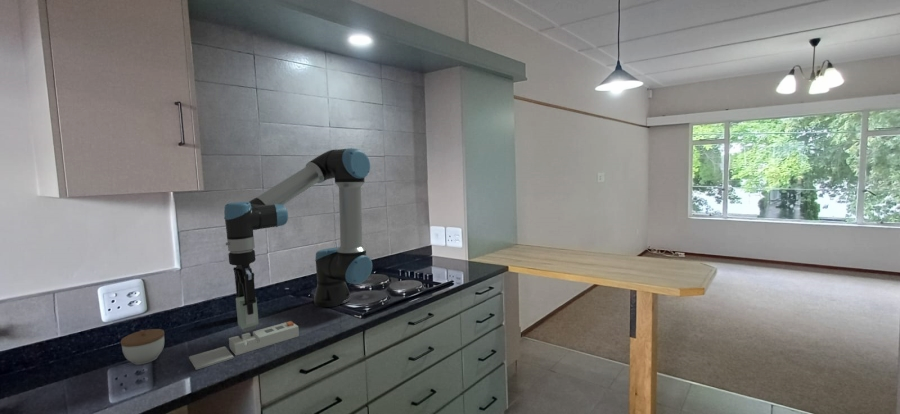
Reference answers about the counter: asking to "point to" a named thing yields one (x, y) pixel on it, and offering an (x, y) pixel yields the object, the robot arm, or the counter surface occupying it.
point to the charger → (241, 315)
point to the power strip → (263, 337)
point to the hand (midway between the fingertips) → (248, 321)
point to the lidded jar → (143, 346)
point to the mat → (210, 357)
